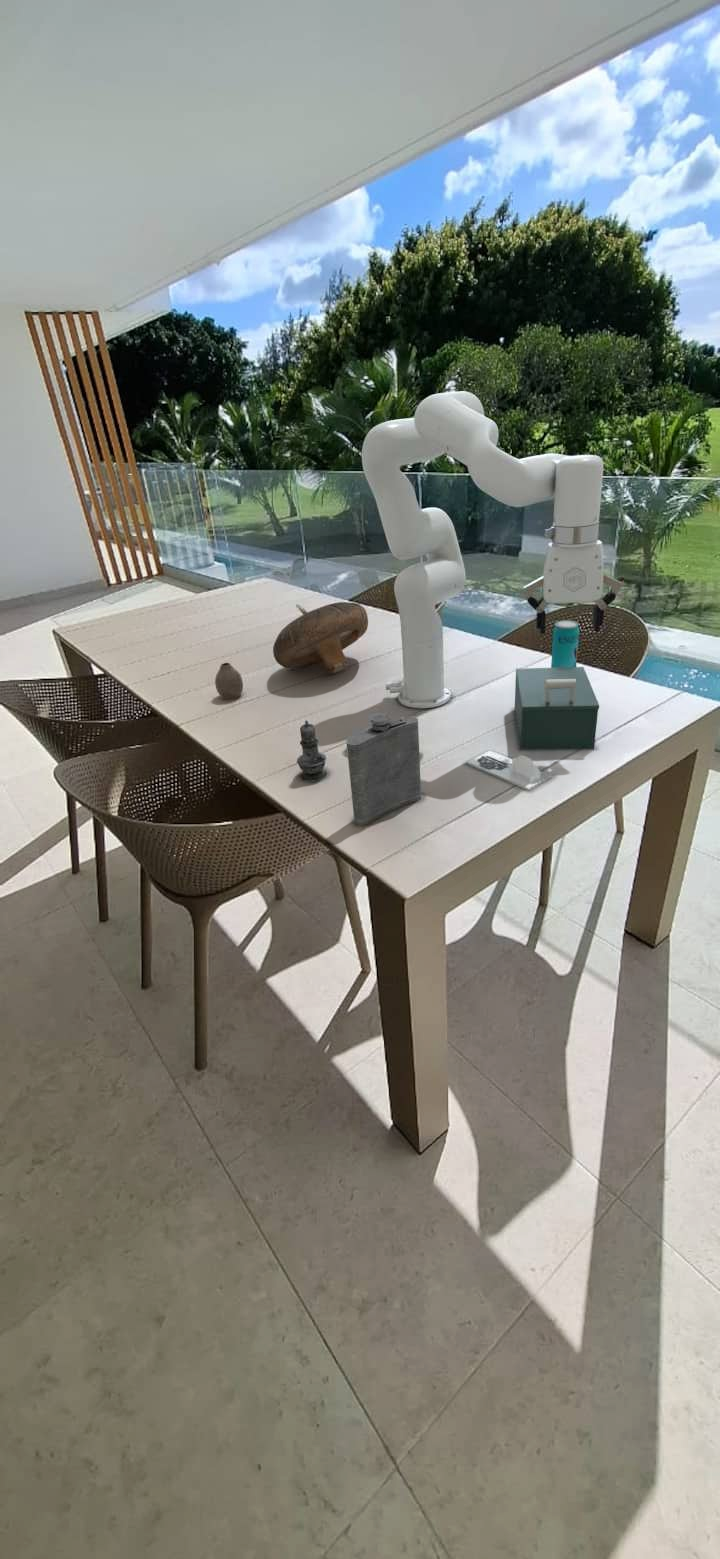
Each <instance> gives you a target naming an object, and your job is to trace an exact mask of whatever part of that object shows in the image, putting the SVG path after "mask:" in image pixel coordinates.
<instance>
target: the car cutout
mask: <svg viewBox="0 0 720 1559" xmlns="http://www.w3.org/2000/svg"><path fill="white" fill-rule="evenodd" d="M466 764H467V765H468V766H471V767H473V768H475V769H477V770H479V771H482V772H485V773H487V774H489V775H492V776H494V777H496V778H498V779H500V780H503V781H506V782H508V783H510V784H512V785H514V786H516V787H519V788H522V789H524V790H526V791H528V792H530V791H531V790H533V789H534V788H536V787H538V786H540V785H541V784H543V783H544V782H546V781H547V780H550V779H551V778H552V777H553V776H552V774H551V773H547V772H545V771H543V770H540V768H539V767H538V766H537V765H535V763H534V760H533V759H532V758H530V757H528V756H525V755H522V754H519V755H518V757H513V758H510V757H508V756H505V755H503V754H500V753H497V752H495V751H492V750H488V751H486V752H484V753H482V754H480V755H478V756H475V757H474V758H472V759H471V760H469V761H467V763H466Z"/></svg>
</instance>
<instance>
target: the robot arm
mask: <svg viewBox="0 0 720 1559" xmlns="http://www.w3.org/2000/svg"><path fill="white" fill-rule="evenodd" d="M499 433H500V432H499V427H498V425H497V423H496V422H495V421H494V420H492V419H491V418H489V417H487V416H485V409H484V407H483V404H482V402H481V400H480V399H479V397H477V396H476V395H475V394H473V393H472V392H469V391H465V390H461V391H449V392H440V393H439V392H438V393H435V394H430V395H429V396H427V397H425V398H424V399H423V400H421V402H419V404H418V405H417V407H416V409H415V412H414V417H408V418H398V419H394V420H393V419H391V420H387V421H384V422H381V423H379V424H377V425H375V426H373V427H372V428H371V429H370V430H369V431H368V433H366V436H365V438H364V440H363V443H362V447H361V464H362V470H363V473H364V476H365V479H366V481H367V483H368V486H369V487H370V490H371V492H372V495H373V498H374V500H375V503H376V506H377V510H378V513H379V518H380V521H381V525H382V529H383V531H384V534H385V538H386V541H387V545H388V548H389V550H390V553H391V554H392V556H393V557H394V558H396V559H397V560H400V561H406V560H412V559H416V558H419V557H422V556H423V557H424V556H426V559H427V560H426V561H421V562H419V563H415V564H412V565H410V566H408V567H405V568H404V569H403V570H401V572H399V573H398V574H397V576H396V578H395V581H394V585H393V591H394V597H395V600H396V604H397V610H398V614H399V622H400V637H401V646H402V647H401V651H402V652H401V654H402V670H403V672H402V673H403V677H402V680H398V682H397V681H396V682H394V681H387V682H385V691H389V694H396V693H398V695H397V699H398V702H399V703H400V704H401V705H403V706H405V707H407V708H412V709H431V708H436V707H437V708H438V707H440V706H443V705H445V704H447V703H448V702H450V700H451V698H452V695H451V694H452V693H451V691H450V689H448V688H447V687H445V668H444V664H445V662H444V629H443V621H442V619H441V616H440V615H439V613H438V611H437V609H436V605H438V604H440V603H443V602H445V601H448V600H451V599H453V598H456V597H458V596H459V595H460V594H461V593H462V592H463V591H464V589H465V586H466V581H467V576H466V568H465V564H464V559H463V556H462V553H461V549H460V544H459V540H458V537H457V533H456V530H455V526H454V523H453V521H452V520H451V518H450V516H449V515H448V514H447V512H445V511H444V510H443V509H441V508H438V507H426V508H421V507H420V505H419V502H418V500H417V495H416V491H415V488H414V486H413V484H412V482H411V481H410V480H409V478H408V477H407V476H406V475H405V473H403V472H402V470H401V469H400V468H401V467H402V466H406V465H407V466H408V465H413V464H418V463H423V462H429V461H432V460H435V459H436V458H439V457H441V456H442V455H444V454H447V455H449V456H450V457H451V458H453V459H455V460H457V461H458V462H460V463H462V464H463V465H465V466H466V468H467V471H468V474H469V475H470V477H471V480H472V481H473V483H474V484H475V485H476V487H477V488H478V489H480V490H481V491H482V492H483V493H484V494H487V495H489V496H490V497H491V498H493V499H495V500H497V501H498V502H500V503H502V504H504V505H507V506H509V507H514V508H522V507H527V506H530V505H533V504H534V505H535V504H537V503H542V502H546V501H551V500H553V520H552V526H551V527H550V528H547V529H543V530H544V531H543V537H544V538H545V539H546V538H548V539H550V540H551V542H549V543H548V544H547V548H546V553H545V558H544V563H543V564H544V565H543V572H542V575H541V577H539V578H537V579H535V580H533V581H531V582H529V583H528V584H526V585H524V586H522V588H521V591H522V594H523V596H524V598H525V599H526V601H527V603H528V605H529V606H530V607H531V608H532V609H533V610H534V611H535V612H536V618H535V619H536V620H535V622H536V623H535V628H536V629H538V630H539V634H540V635H545V634H546V619H547V618H546V617H547V614H546V613H547V612H546V610H545V609H546V608H547V607H548V606H549V605H550V604H553V605H555V604H556V605H557V604H577V603H592V602H594V603H595V605H594V607H593V612H592V624H591V626H592V629H593V631H594V632H595V633H599V632H600V628H601V627H602V626H603V625H604V616H605V610H607V607H608V606H609V605H610V604H611V603H612V602H614V600H616V598H617V595H619V593H620V591H621V589H622V588H623V586H624V585H623V583H622V581H620V580H617V579H615V578H613V577H611V576H609V575H607V574H605V573H604V546H603V545H604V544H603V542H602V541H601V540H599V539H598V536H599V524H600V514H601V502H602V490H603V476H604V461H603V458H602V457H601V456H599V455H597V454H596V455H595V454H577V455H566V454H561V453H553V452H552V453H551V452H550V453H545V454H539V455H537V454H536V455H532V456H528V457H523V458H517V457H514V456H512V455H511V454H509V453H507V452H505V451H503V450H502V449H500V448H499V447H497V445H498V442H499V437H500V436H499V435H500V434H499ZM604 585H607V586H609V587H610V590H609V591H608V592H607V593H606V594H605V595H604V596H603V591H604ZM539 588H541V594H542V595H541V597H540V598H539V599H536V598H535V597H534V596H533V592H534V591H535V590H537V589H539ZM602 596H603V597H602ZM600 626H601V627H600Z"/></svg>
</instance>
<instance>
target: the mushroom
mask: <svg viewBox="0 0 720 1559" xmlns="http://www.w3.org/2000/svg"><path fill="white" fill-rule="evenodd" d="M295 607H296V609H297V610H298V611H300V613H301V614H302V615H300V616H299V617H297V618H295V619H294V620H292V621H291V622H289V623H288V624H287V625H286V626H285V627H284V628H282V629H281V630H280V632H279V633H278V635H277V637H276V639H275V641H274V644H273V646H272V654H273V658H274V659H275V662H276V663H277V664H279V665H280V666H281V667H283V668H284V669H296V668H300V667H303V666H307V665H309V664H312V663H317V662H319V661H322V663H323V666H324V667H325V669H326V670H327V672H328V674H329V675H335V674H337V673H340V672H343V670H345V669H346V668H347V667H348V666H349V662H348V660H347V657H346V655H345V654H344V651H343V650H345V649H347V648H348V647H349V646H351V645H353V644H355V643H356V642H357V641H358V640H359V639H360V638H361V637H363V636H364V634H366V632H367V630H368V627H369V618H368V613H367V610H366V608H365V607H364V606H363V605H361V604H360V603H356V602H348V601H339V602H333V603H330V604H326V605H323V606H320V607H317V608H315V609H312V610H310V611H307V610H306V609H305V607H303V606H302V604H300V603H296V604H295Z"/></svg>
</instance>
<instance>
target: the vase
mask: <svg viewBox="0 0 720 1559" xmlns="http://www.w3.org/2000/svg"><path fill="white" fill-rule="evenodd" d="M214 685H215V689H216V691H217V693H218V695H219V696H220V697H221V698H223V699H225V700H235V699H237V698H239V697H240V696H241V694H242V693H243V689H244V683H243V678H242V675H241V674H240V672H239V671H238V670H237V669H236V668H234V666H232V664H231V663H230V662H223V663H220V667H219V670H218V671H217V673H216V675H215V680H214Z"/></svg>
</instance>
